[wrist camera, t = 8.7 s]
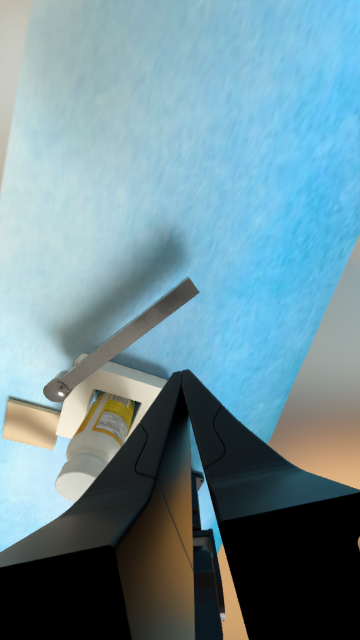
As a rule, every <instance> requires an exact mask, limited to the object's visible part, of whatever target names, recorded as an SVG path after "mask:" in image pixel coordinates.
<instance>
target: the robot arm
mask: <svg viewBox="0 0 360 640" xmlns="http://www.w3.org/2000/svg"><path fill="white" fill-rule="evenodd" d="M190 421H191V424H192V428H193V432H194V436H195V440H196V443H197V447H198V451H199V455H200V458H201V462H202V466H203V470H204V473H205V477H206V481H207V485H208V489H209V492H210V496H211V500H212V504H213V508H214V512H215V516H216V520H217V524H218V527H219V531H220V535H221V539H222V542H223V546H224V549H225V553H226V557H227V561H228V564H229V568H230V571H231V576H232V579H233V583H234V587H235V590H236V593H237V598H238V601H239V605H240V609H241V612H242V616H243V620H244V624H245V627H246V631H247V635H248V638H249V640H360V550H359V547H358V539H359V537H360V490H359V489H355V488H353V487H350V486H347V485H344V484H341V483H338V482H335V481H332V480H329V479H327V478H323V477H321V476H318V475H315V474H312V473H309V472H306V471H304V470H302V469H300V468H298V467H297V466H295V465H293V464H291V463H290V462H289V461H287V460H286V459H284V458H283V457H282V456H280V455H279V454H278V453H277V452H276V451H274V450H273V449H272V448H271V447H270V446H268V445H267V444H266V443H265V442H263V441H262V440H261V439H260V438H259V437H257V436H256V435H255V434H254V433H252V432H251V431H250V430H249V429H248V428H246V427H245V426H244V425H243V424H242V423H241V422H240V421H238V420H237V419H236V418H235V417H234V416H233V415H232V414H231V413H230V412H229V411H228V410H227V409H226V408H225V407H224V406H223V405H222V404H221V403H220V401H219V400H218V399H217V398H216V397H215V396H214V395H213V394H212V393H211V392H210V391H209V390H208V389H207V388H206V387H205V386H204V385H203V383H202V382H201V381H200V380H199V379H198V378H197V377H196V376H195V375H194V374H193V373H192V372H191V371H190V370H189V369H187V370H183V371H178V372H174V373H173V374H172V375H171V377H170V378H169V380H168V381H167V382H166V384H165V385H164V387H163V388H162V390H161V391H160V393H159V394H158V396H157V397H156V398H155V400H154V401H153V403H152V404H151V406H150V407H149V409H148V410H147V412H146V413H145V415H144V416H143V417H142V419H141V420H140V423H138V425H137V426H136V428H135V429H134V430H133V432H132V433H131V435H130V436H129V437H128V439H127V440H126V442H125V443H124V444H123V445H122V447H121V448H120V449H119V450H118V452H117V453H116V454H115V456H114V457H113V458H112V459H111V460H110V462H109V463H108V464H107V465H106V467H105V468H104V469H103V470H102V472H101V473H100V474H99V475H98V476H97V478H96V479H95V480H94V481H93V483H92V484H91V485H90V486H89V487H88V489H87V490H86V491H85V492H84V493H83V495H82V496H81V497H80V498H79V499H78V500H77V501H76V502H75V503H74V504H73V505H72V506H71V507H70V508H69V509H68V510H67V511H66V512H65V513H63V514H62V515H61V516H59V517H58V518H56V519H55V520H53V521H52V522H50V523H48V524H47V525H45V526H43V527H42V528H40V529H38V530H37V531H35V532H33V533H32V534H30V535H28V536H27V537H25V538H23V539H22V540H20V541H18V542H17V543H15V544H13V545H12V546H10V547H8V548H7V549H5V550H3V551H2V552H0V640H223V631H222V623H221V621H225V606H224V596H223V587H222V580H221V574H220V569H219V563H218V557H217V552H216V546H215V541H214V536H213V530H212V529H208V530H201V521H200V511H199V500H198V490H199V489H200V487H201V486H202V484H203V483H204V477H203V476H200V475H196V474H192V473H191V453H190Z"/></svg>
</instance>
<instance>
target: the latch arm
mask: <svg viewBox="0 0 360 640" xmlns="http://www.w3.org/2000/svg"><path fill="white" fill-rule="evenodd" d="M198 293H200V292H199V291H198V290H197V288H196V287H195V285H194V284H193V283H192V281H191V280H190V279H189V278H188V277H186V278H185V279H184V280H183V281H181V282H180V283H179V284H178V285H176V286H175V287H174V288H172V289H171V290H170V291H169V292H167V293H166V294H165V295H164V296H162V297H161V298H160V299H159V300H157V301H156V302H155V303H153V304H152V305H151V306H150V307H148V308H147V309H146V310H145V311H143V312H142V313H141V314H139V315H138V316H137V317H136V318H134V319H133V320H132V321H131V322H129V323H128V324H127V325H126V326H124V327H123V328H122V329H120V330H119V331H118V332H117V333H115V334H114V335H113V336H112V337H110V338H109V339H108V340H107V341H105V342H104V343H103V344H101V345H100V346H99V347H98V348H96V349H95V350H94V351H93V352H91V353H90V354H89V355H87V356H86V357H85V358H84V359H82V360H81V361H80V362H79V363H77V364H76V365H75V366H74V367H72V368H71V369H70V370H68V371H62V372H60V373H59V374H58V375H57V376H56V377H55V378H54V379H52V380H51V381H50V382H49V383H48V384H47V385H46V386H45V387H44V389H43V393H44V395H45V397H46V398H47V399H49V400H50V401H53V402H62V401H64V400H65V399H66V398H67V397H68V396H69V394H70V393H71V392H72V391H73V390H74V388H75V387H76V386H77V385H78V384H80V383H81V382H82V381H84V380H85V379H86V378H87V377H89V376H90V375H91V374H93V373H94V372H95V371H97V370H98V369H99V368H101V367H102V366H103V365H105V364H106V363H107V362H109V361H110V360H111V359H113V358H114V357H115V356H116V355H118V354H119V353H120V352H122V351H123V350H124V349H126V348H127V347H128V346H130V345H131V344H132V343H134V342H135V341H136V340H138V339H139V338H140V337H142V336H143V335H144V334H145V333H147V332H148V331H149V330H151V329H152V328H153V327H155V326H156V325H157V324H159V323H160V322H161V321H163V320H164V319H165V318H167V317H168V316H169V315H171V314H172V313H173V312H174V311H176V310H177V309H178V308H180V307H181V306H182V305H184V304H185V303H186V302H188V301H189V300H190V299H192V298H193V297H194V296H196V295H197V294H198Z"/></svg>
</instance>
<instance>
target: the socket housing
mask: <svg viewBox="0 0 360 640" xmlns="http://www.w3.org/2000/svg"><path fill="white" fill-rule="evenodd" d="M87 355H89V354H86V353H83V354H81V355H80V356H79V357H78V358H77V359H76V360H75V361H74V364H73V367H74V366H75V365H76V364H77V363H79V362H80V361H81V360H82V359H84V358H85V357H86V356H87ZM167 381H168V380H166V379H163V378H160V377H157V376H154V375H151V374H147V373H144V372H141V371H138V370H135V369H132V368H129V367H126V366H123V365H120V364H117V363H114V362H110V361H109V362H107V363H106V364H105V365H103V366H102V367H101V368H99V369H98V370H97V371H95V372H94V373H93V374H91V375H90V376H89V377H87V378H86V379H85V380H84V381H82V382H81V383H80V384H78V385H77V386H76V387H75V388H74V390H73V391H72V392H71V393H70V394H69V396H68V397H67V398H66V399H65V400H64V403H63V407H62V411H61V415H60V419H59V423H58V427H57V431H56V434H55V435H58V436H62V437H66V438H70V439H72V438H73V436H74V435H75V433H76V431H77V430H78V428H79V427H80V425H81V423H82V422H83V420H84V418H85V417H86V415H87V414H88V412H89V410H90V409H91V406H92V403H93V400H94V397H95V393H96V390H101V391H104V392H107V393H111V394H114V395H118V396H121V397H124V398H128V399H131V400H134V401H138V402H140V404H139V407H138V409H137V411H136V414H135V416H134V419H133V421H132V423H131V424H130V426H129V430H128V433H127V437H126V440H127V439H128V437H129V436H130V435H131V433H132V432H133V430H134V429H135V428H136V426H137V425H138V423H140V420H141V419H142V417H143V416H144V415H145V413H146V412H147V410H148V409H149V407H150V406H151V404H152V403H153V401H154V400H155V398H156V397H157V396H158V394H159V393H160V391H161V390H162V388H163V387H164V385H165V384H166V382H167ZM126 440H125V442H126Z"/></svg>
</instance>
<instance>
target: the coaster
mask: <svg viewBox="0 0 360 640" xmlns="http://www.w3.org/2000/svg"><path fill="white" fill-rule="evenodd" d="M60 415H61V412H58V411H54V410H50V409H47V408H43V407H39V406H35V405H32V404H28V403H24V402H21V401H17V400H13V399H10V400H9V401H8V402H7V410H6V417H5V424H4V432H3V438H4V439H8V440H12V441H16V442H20V443H25V444H29V445H33V446H37V447H42V448H46V449H50V450H53V448H54V447H55V443H56V440H57V436H58V435H55V434H56V431H57V427H58V423H59V419H60Z"/></svg>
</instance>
